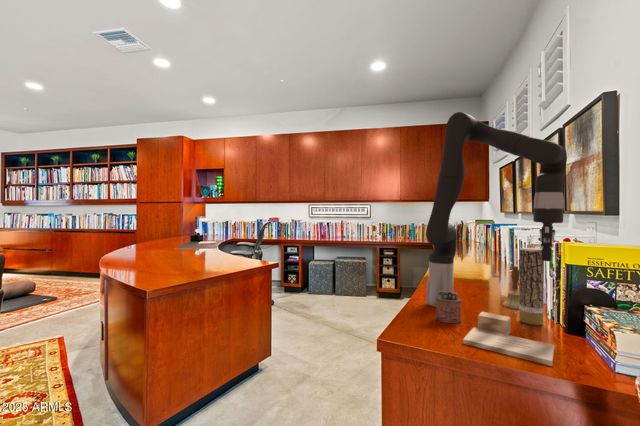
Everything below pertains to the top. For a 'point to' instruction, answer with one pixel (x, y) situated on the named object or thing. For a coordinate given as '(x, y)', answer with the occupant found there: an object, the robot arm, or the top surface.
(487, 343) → the birch board
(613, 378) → the top surface
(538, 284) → the bark textured post
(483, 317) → the beige rectangular block
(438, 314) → the lighter
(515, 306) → the hand bell
